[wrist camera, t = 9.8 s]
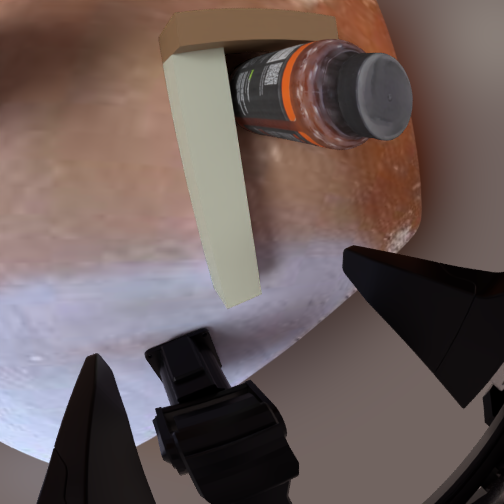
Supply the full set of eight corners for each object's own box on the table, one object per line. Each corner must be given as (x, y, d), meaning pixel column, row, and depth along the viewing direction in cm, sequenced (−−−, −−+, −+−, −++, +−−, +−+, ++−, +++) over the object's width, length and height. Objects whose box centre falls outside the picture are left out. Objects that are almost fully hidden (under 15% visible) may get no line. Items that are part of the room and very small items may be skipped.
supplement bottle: (301, 123, 21) (425, 151, 12) (233, 143, 19) (349, 183, 10) (286, 53, 17) (416, 38, 8) (213, 65, 16) (326, 28, 7)
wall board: (310, 247, 27) (344, 273, 23) (214, 288, 24) (238, 325, 20) (291, 28, 16) (335, 16, 12) (158, 37, 13) (174, 12, 9)
